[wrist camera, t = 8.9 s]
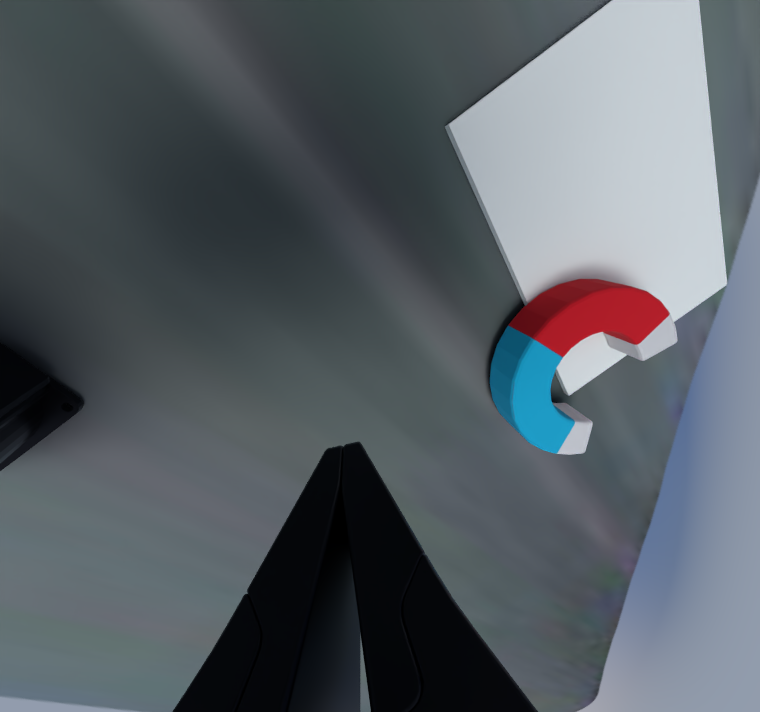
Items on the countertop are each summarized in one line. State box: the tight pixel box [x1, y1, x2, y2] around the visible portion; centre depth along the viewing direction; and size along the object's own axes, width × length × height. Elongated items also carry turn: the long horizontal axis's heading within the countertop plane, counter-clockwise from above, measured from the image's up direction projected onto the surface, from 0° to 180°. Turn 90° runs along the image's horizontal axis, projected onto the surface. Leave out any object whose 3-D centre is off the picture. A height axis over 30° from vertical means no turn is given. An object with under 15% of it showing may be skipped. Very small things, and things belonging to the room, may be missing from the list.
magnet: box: [490, 279, 677, 455], centre depth 22 cm, size 12×3×10 cm
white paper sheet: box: [445, 0, 727, 396], centre depth 21 cm, size 14×20×1 cm
